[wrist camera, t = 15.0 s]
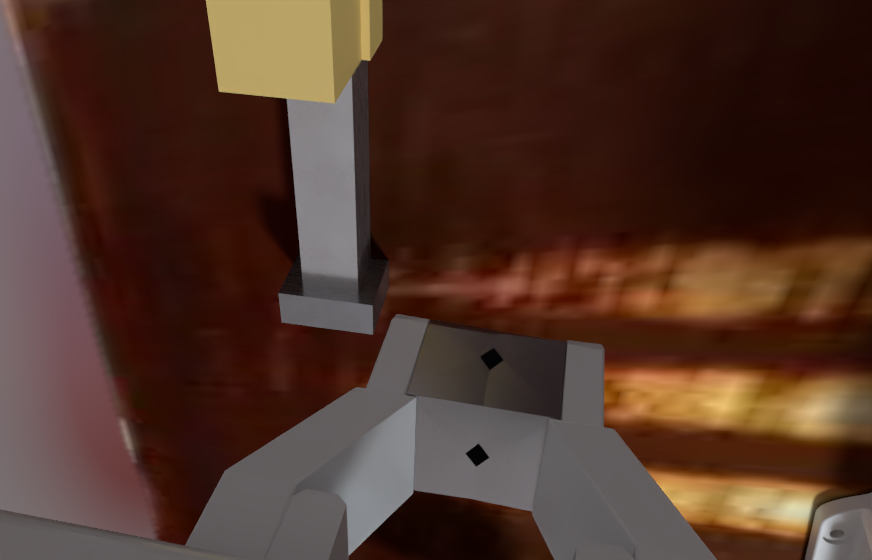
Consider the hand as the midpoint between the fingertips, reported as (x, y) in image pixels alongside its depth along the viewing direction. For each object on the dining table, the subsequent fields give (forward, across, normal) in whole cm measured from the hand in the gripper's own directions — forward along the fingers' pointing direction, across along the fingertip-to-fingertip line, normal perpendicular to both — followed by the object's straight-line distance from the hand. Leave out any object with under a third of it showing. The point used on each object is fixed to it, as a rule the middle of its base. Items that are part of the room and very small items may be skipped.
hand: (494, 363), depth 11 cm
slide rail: (+25, +10, +6) cm, 28 cm away
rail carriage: (+23, +10, +1) cm, 25 cm away
